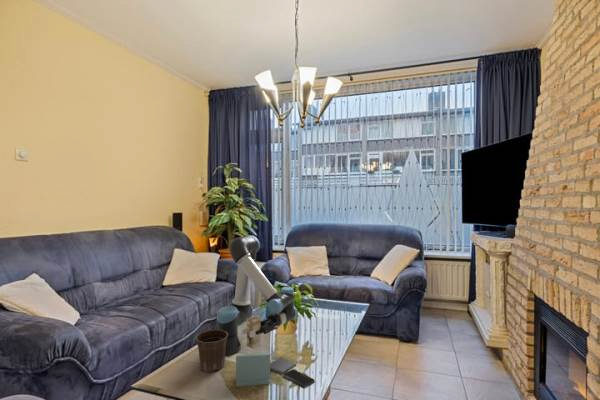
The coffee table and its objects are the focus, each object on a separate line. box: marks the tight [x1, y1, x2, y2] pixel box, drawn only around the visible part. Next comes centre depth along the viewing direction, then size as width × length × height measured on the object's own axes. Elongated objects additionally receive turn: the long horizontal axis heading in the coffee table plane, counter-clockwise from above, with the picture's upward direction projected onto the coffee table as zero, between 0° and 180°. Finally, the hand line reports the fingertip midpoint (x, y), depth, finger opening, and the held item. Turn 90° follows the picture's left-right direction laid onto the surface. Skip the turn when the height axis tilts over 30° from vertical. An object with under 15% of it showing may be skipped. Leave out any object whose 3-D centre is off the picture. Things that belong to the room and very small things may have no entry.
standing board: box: [235, 353, 271, 387], centre depth 163 cm, size 5×16×13 cm, turn 97°
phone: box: [282, 368, 315, 389], centre depth 166 cm, size 8×1×15 cm
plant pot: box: [195, 329, 228, 373], centre depth 178 cm, size 16×16×16 cm
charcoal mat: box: [270, 357, 297, 375], centre depth 178 cm, size 11×11×1 cm
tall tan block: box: [246, 315, 262, 349], centre depth 176 cm, size 5×5×14 cm
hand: (246, 333), depth 172 cm, fingers closed on tall tan block, 5 cm apart
